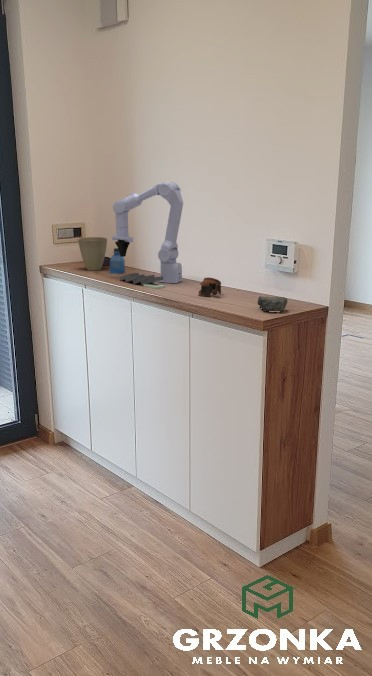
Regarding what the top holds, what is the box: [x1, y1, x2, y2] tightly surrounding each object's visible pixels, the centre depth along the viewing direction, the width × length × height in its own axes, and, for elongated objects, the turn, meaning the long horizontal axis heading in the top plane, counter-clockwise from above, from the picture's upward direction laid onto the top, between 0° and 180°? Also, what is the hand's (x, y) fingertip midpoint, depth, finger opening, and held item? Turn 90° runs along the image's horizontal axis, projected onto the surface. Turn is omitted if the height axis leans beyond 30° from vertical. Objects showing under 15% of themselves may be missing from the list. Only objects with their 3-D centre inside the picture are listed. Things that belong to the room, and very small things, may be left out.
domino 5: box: [142, 282, 166, 290], centre depth 257 cm, size 2×5×9 cm
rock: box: [257, 295, 288, 312], centre depth 214 cm, size 12×10×5 cm
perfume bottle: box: [109, 247, 126, 275], centre depth 294 cm, size 6×6×12 cm
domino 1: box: [119, 272, 140, 281], centre depth 271 cm, size 2×5×9 cm
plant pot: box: [77, 236, 108, 271], centre depth 303 cm, size 15×15×16 cm
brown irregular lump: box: [198, 277, 222, 298], centre depth 239 cm, size 12×10×8 cm
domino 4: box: [140, 275, 164, 286], centre depth 260 cm, size 2×5×9 cm
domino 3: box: [132, 274, 156, 285], centre depth 262 cm, size 2×5×9 cm
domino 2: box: [124, 274, 146, 283], centre depth 267 cm, size 2×5×9 cm
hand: (123, 256), depth 277 cm, fingers closed
